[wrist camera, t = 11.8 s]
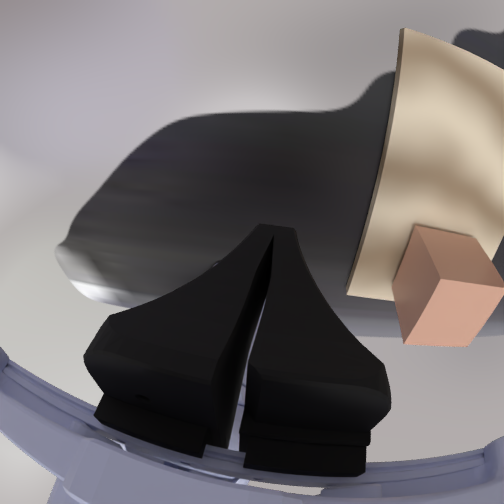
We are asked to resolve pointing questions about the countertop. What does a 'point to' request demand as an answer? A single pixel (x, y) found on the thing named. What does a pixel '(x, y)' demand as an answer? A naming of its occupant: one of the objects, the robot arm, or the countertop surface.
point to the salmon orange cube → (444, 289)
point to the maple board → (434, 159)
